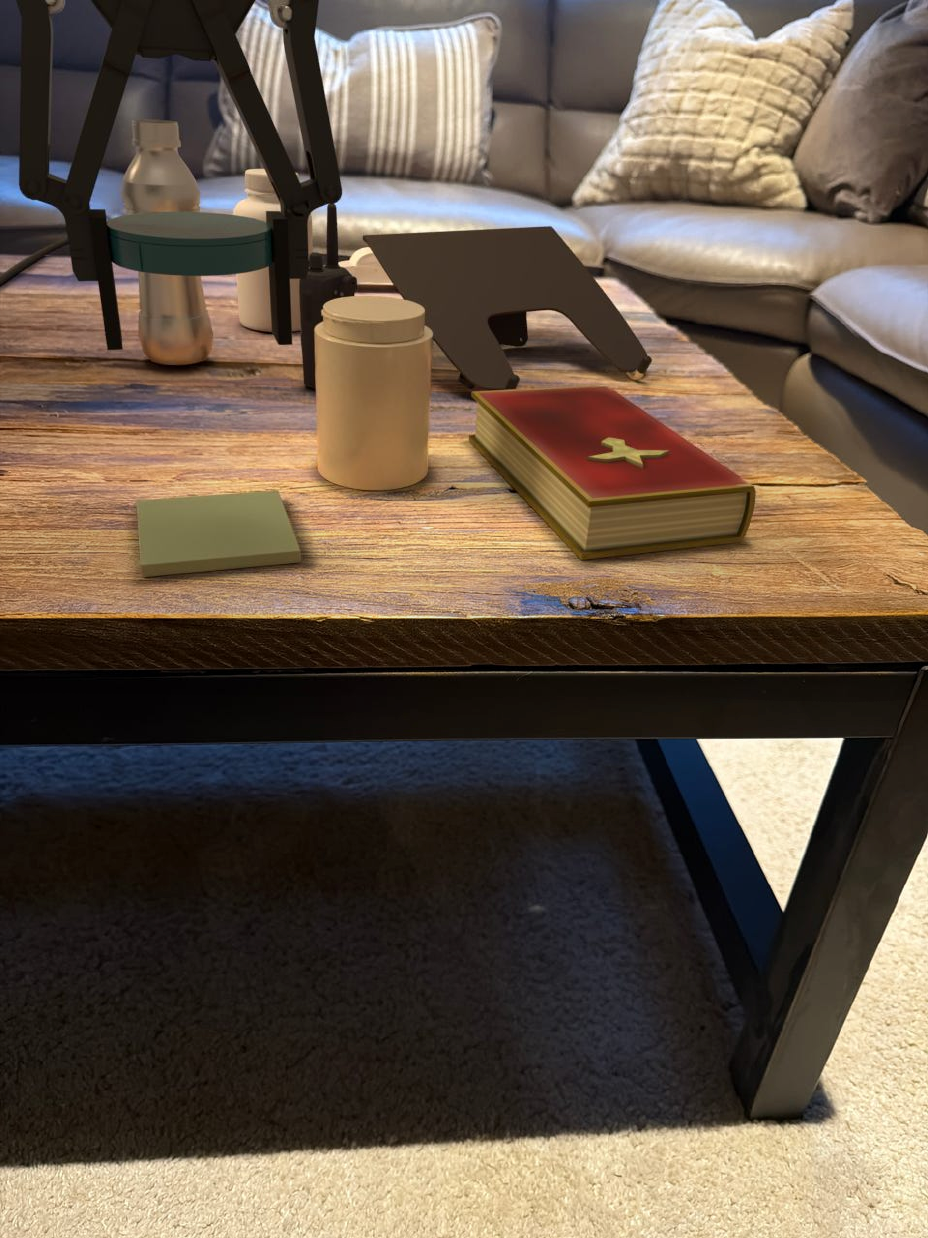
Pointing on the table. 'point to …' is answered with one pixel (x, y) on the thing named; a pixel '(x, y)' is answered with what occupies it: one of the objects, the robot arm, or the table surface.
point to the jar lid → (190, 243)
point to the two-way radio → (321, 293)
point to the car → (366, 268)
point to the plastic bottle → (167, 302)
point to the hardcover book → (609, 472)
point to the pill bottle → (256, 283)
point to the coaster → (214, 533)
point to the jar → (373, 392)
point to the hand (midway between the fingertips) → (200, 340)
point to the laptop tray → (501, 296)
